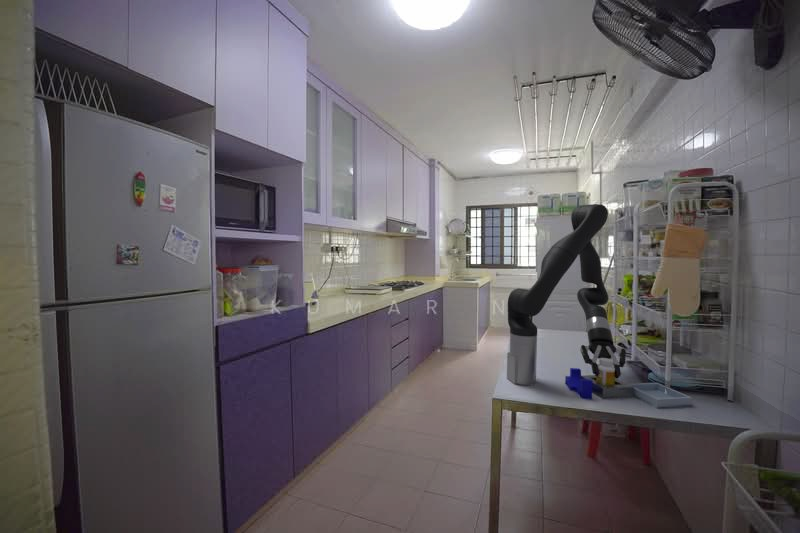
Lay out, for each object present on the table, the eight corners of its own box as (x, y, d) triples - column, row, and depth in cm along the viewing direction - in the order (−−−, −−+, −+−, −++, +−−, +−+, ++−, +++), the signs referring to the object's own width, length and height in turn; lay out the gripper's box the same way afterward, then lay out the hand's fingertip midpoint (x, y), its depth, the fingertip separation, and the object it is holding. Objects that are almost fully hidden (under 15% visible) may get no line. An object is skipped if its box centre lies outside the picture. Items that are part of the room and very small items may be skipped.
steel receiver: (602, 399, 107) (602, 388, 107) (579, 385, 118) (580, 375, 118) (633, 397, 109) (633, 386, 109) (608, 384, 120) (608, 374, 120)
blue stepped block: (565, 384, 120) (565, 367, 120) (578, 385, 119) (579, 368, 119) (576, 398, 108) (577, 380, 108) (591, 399, 107) (592, 381, 107)
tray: (656, 408, 101) (657, 399, 101) (625, 391, 113) (625, 384, 113) (691, 406, 103) (692, 397, 103) (656, 390, 115) (657, 382, 115)
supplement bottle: (615, 387, 114) (616, 359, 113) (613, 392, 110) (614, 363, 109) (597, 383, 117) (598, 356, 117) (594, 388, 113) (595, 359, 113)
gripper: (578, 324, 122) (585, 368, 111) (624, 328, 118) (635, 373, 107) (575, 335, 127) (580, 378, 116) (619, 339, 123) (629, 383, 112)
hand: (607, 375), depth 112 cm, fingers closed on supplement bottle, 5 cm apart
